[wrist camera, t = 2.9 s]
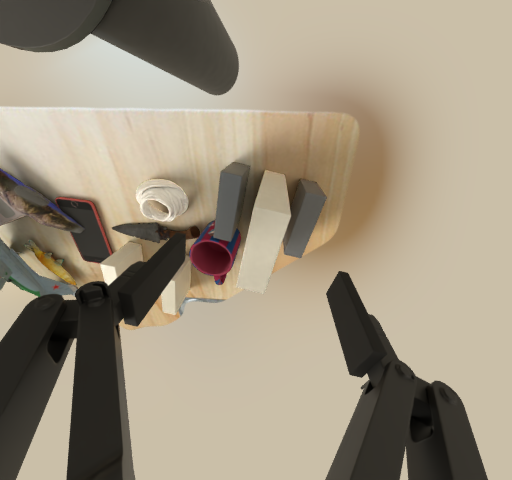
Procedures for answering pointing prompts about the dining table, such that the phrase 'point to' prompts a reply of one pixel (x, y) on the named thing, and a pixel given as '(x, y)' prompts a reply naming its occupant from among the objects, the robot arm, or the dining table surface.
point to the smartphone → (86, 229)
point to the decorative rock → (35, 204)
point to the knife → (154, 231)
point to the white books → (133, 254)
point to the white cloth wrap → (161, 199)
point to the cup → (214, 253)
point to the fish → (51, 263)
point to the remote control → (8, 213)
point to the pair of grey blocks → (302, 209)
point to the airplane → (27, 275)
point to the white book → (265, 233)
